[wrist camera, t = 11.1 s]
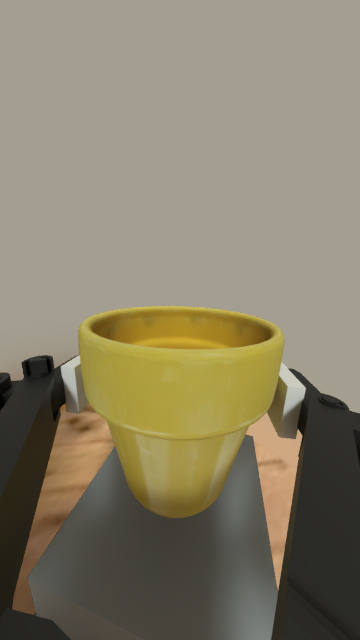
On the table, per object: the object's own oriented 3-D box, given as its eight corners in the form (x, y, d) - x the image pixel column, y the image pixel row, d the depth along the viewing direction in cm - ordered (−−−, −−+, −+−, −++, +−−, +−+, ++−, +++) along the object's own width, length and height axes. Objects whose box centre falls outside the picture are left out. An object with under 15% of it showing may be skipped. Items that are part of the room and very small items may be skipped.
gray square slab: (39, 624, 10) (27, 577, 9) (139, 440, 21) (138, 411, 20) (280, 769, 7) (298, 721, 6) (247, 469, 19) (252, 436, 18)
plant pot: (192, 393, 20) (196, 301, 17) (294, 482, 11) (327, 326, 9) (83, 435, 14) (69, 309, 12) (124, 679, 6) (102, 394, 3)
